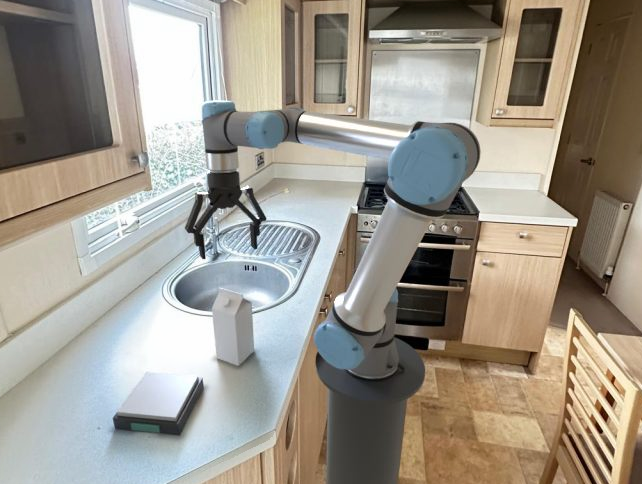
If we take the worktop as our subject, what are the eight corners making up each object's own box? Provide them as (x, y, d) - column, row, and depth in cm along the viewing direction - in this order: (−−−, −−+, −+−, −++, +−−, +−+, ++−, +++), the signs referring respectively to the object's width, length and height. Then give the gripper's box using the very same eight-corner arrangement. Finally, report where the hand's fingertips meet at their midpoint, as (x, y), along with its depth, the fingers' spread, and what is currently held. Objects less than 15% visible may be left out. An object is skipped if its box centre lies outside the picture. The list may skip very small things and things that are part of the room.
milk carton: (233, 343, 112) (228, 281, 105) (254, 351, 108) (251, 287, 102) (216, 358, 106) (210, 293, 99) (238, 366, 103) (233, 300, 96)
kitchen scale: (203, 387, 95) (202, 374, 94) (178, 437, 82) (176, 422, 81) (147, 383, 97) (144, 369, 96) (113, 430, 84) (110, 415, 82)
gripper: (265, 162, 105) (268, 239, 112) (165, 172, 94) (176, 256, 102) (277, 167, 99) (279, 248, 106) (172, 178, 88) (183, 267, 95)
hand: (229, 252), depth 104 cm, fingers open, 13 cm apart
